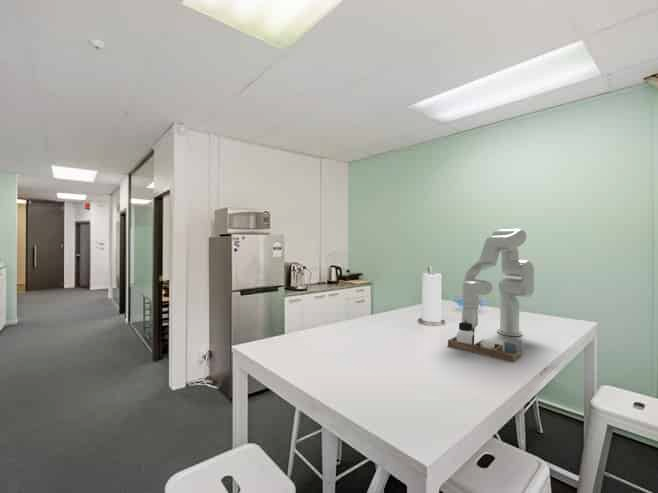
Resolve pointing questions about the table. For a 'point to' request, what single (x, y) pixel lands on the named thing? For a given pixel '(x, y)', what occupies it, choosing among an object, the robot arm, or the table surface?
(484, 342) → the white rounded lump
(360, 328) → the table surface
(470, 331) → the medicine bottle
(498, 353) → the wooden compartment tray
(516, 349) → the grey rectangular block
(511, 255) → the robot arm
